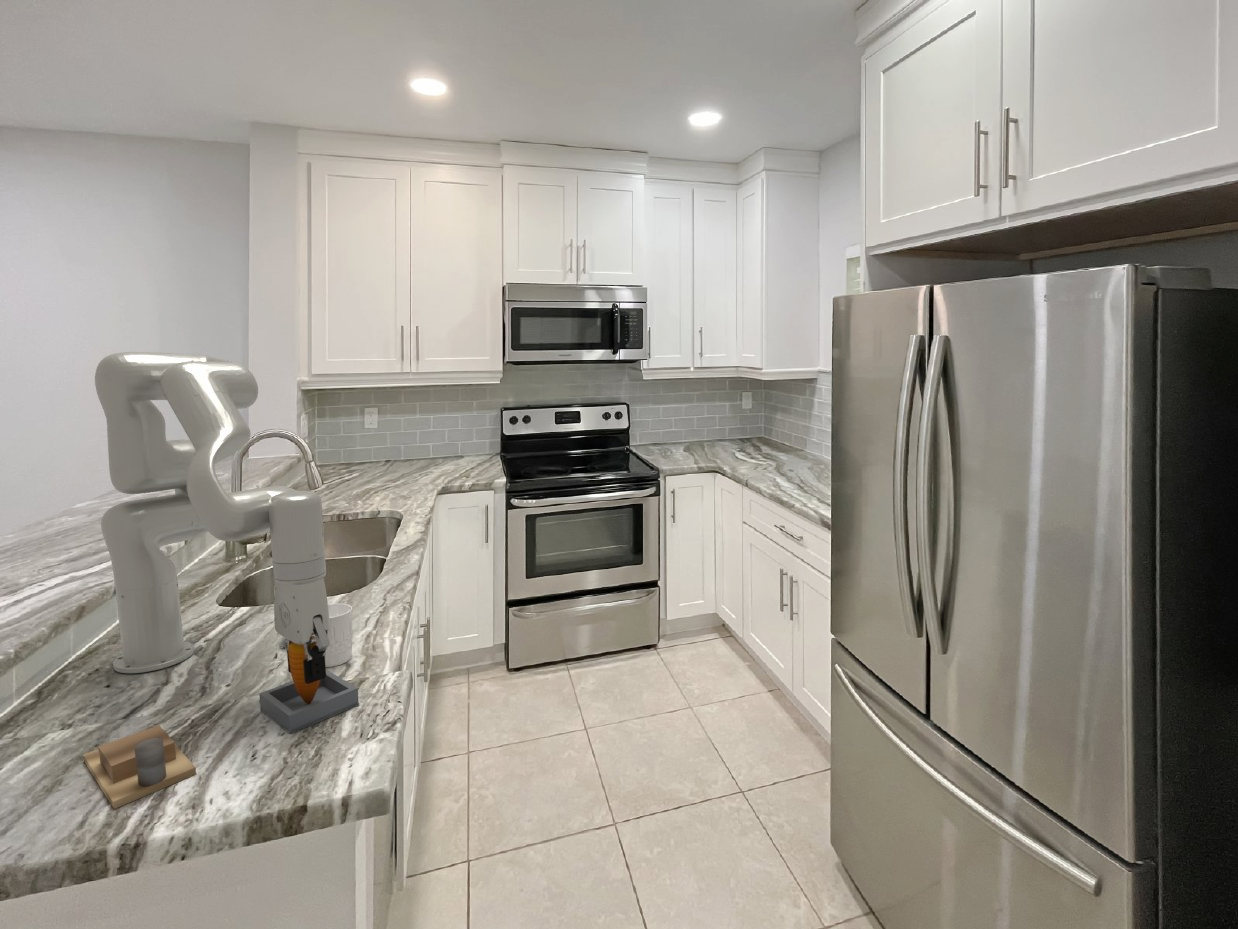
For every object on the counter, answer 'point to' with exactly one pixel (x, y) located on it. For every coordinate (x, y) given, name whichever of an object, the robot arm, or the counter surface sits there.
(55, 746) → the counter surface
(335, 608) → the white cup
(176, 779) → the board
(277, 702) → the tray
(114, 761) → the wooden rectangular block
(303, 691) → the carrot
